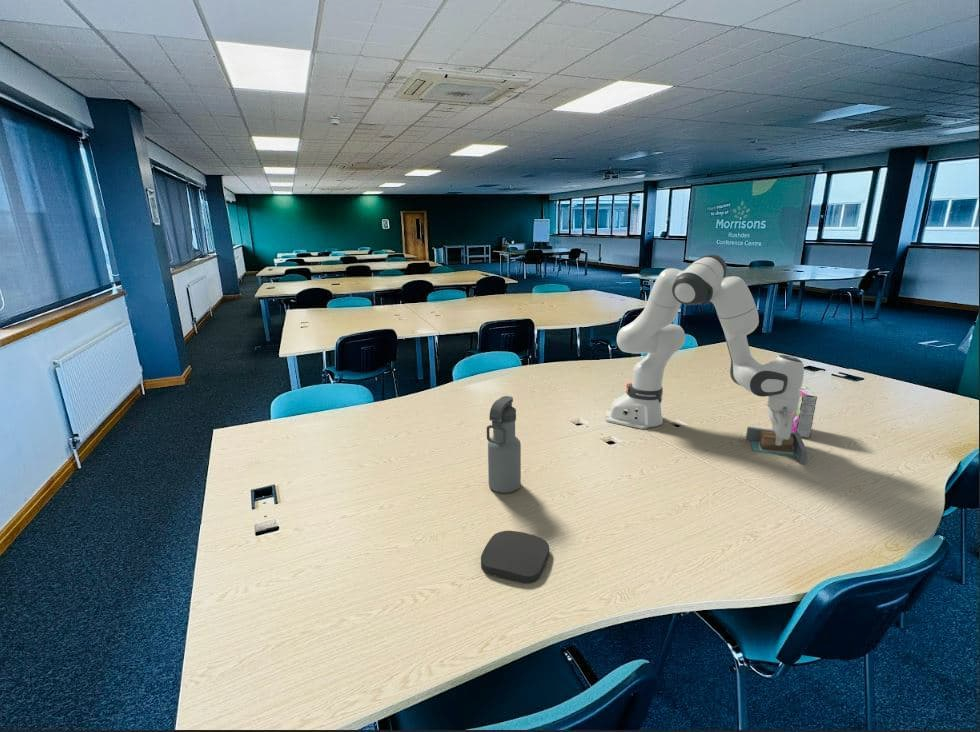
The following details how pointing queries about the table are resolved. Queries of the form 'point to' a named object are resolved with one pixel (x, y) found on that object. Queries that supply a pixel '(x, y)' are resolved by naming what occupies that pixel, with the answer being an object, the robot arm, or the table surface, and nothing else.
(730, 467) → the table surface
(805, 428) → the candy bar box
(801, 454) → the corner bracket
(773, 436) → the walnut block
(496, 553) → the media streaming box
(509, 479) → the water bottle
